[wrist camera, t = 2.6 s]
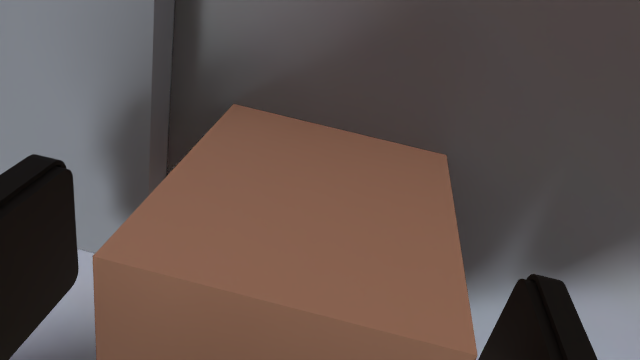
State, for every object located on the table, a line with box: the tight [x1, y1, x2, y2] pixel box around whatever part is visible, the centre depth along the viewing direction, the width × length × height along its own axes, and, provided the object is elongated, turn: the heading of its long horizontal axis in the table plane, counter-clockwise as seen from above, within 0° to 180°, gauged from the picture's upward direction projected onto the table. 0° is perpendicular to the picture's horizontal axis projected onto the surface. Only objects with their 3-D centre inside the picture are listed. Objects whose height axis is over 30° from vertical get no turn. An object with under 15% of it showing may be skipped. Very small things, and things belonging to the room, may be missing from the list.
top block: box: [93, 104, 477, 360], centre depth 10 cm, size 5×5×6 cm
